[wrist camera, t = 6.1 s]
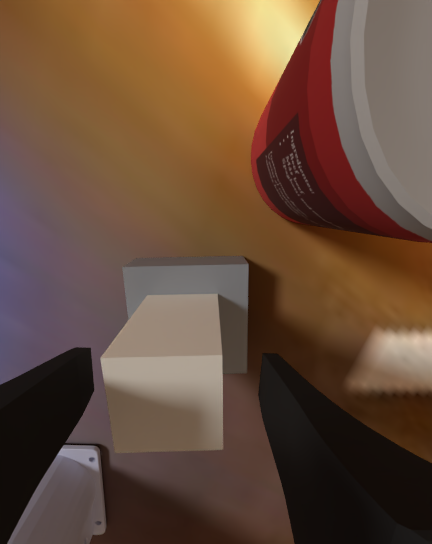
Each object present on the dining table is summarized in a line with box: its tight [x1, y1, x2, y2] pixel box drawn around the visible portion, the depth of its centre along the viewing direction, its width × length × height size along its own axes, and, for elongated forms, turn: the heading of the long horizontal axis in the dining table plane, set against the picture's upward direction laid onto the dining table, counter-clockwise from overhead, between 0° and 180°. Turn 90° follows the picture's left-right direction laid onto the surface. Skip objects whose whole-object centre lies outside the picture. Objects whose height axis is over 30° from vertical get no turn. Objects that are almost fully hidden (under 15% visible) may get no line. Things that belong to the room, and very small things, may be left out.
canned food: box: [251, 0, 432, 243], centre depth 9 cm, size 8×8×11 cm
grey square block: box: [122, 256, 249, 374], centre depth 16 cm, size 7×7×3 cm
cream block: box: [101, 294, 223, 453], centre depth 11 cm, size 4×4×6 cm
